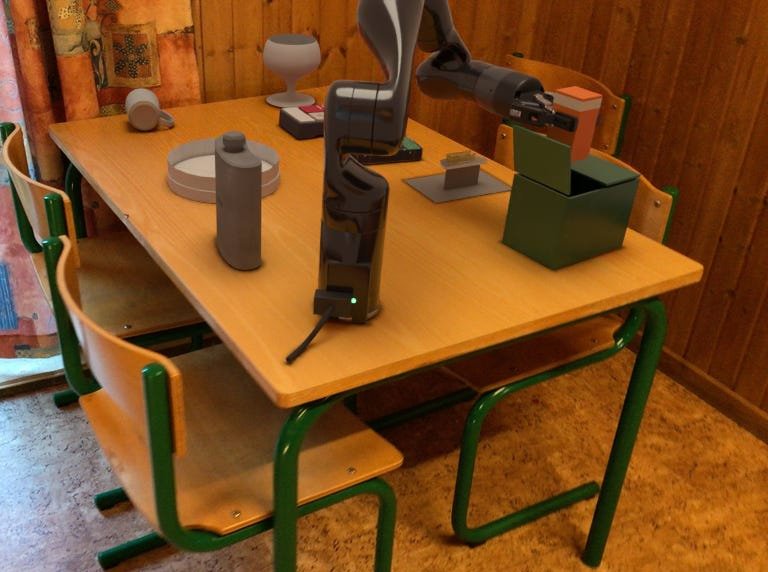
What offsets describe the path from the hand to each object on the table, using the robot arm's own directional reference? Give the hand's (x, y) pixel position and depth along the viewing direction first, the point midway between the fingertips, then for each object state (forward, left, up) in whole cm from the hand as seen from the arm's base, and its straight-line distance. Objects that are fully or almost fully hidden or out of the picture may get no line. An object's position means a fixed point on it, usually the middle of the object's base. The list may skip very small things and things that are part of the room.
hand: (587, 123), depth 130 cm
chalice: (+76, +56, -23) cm, 97 cm away
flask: (-8, +54, -23) cm, 59 cm away
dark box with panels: (+57, +47, -23) cm, 77 cm away
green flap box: (+5, -1, -23) cm, 23 cm away
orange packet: (+2, +2, -6) cm, 7 cm away
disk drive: (+43, +32, -23) cm, 58 cm away
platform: (+29, +16, -23) cm, 40 cm away
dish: (+22, +62, -23) cm, 69 cm away
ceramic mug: (+51, +85, -23) cm, 101 cm away
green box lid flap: (-1, +6, -6) cm, 8 cm away
